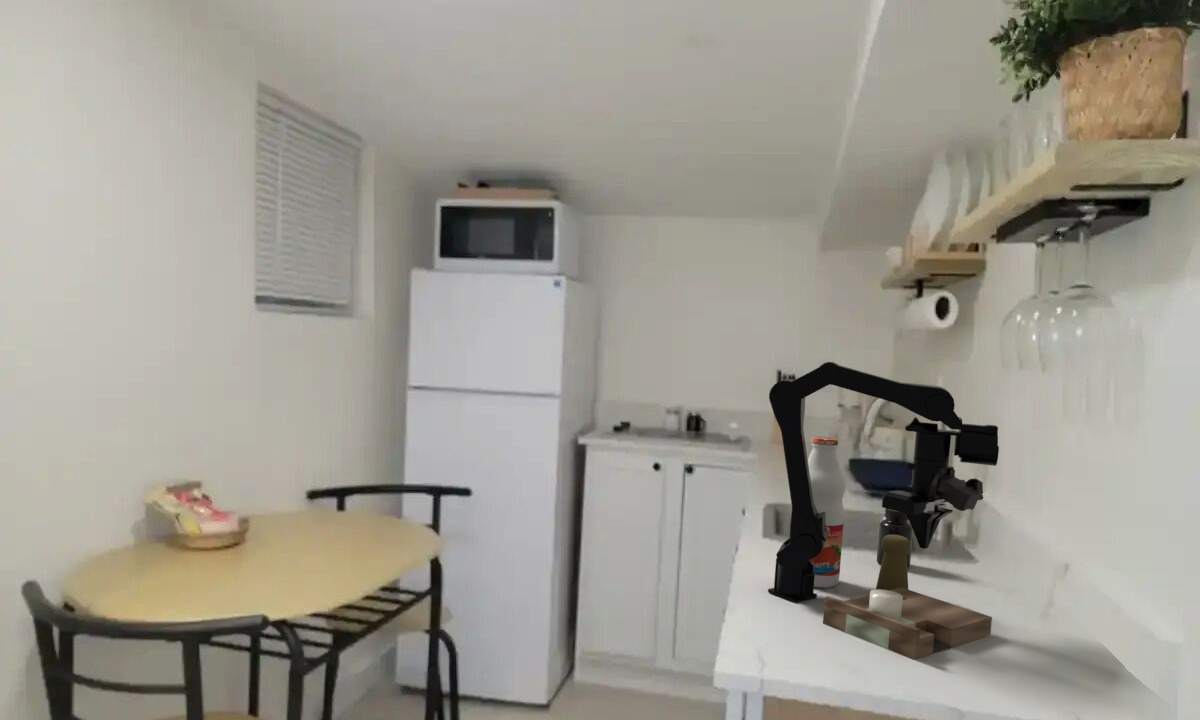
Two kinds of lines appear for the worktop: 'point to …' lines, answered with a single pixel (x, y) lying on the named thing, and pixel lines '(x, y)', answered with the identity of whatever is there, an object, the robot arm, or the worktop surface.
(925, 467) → the robot arm
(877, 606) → the white short cylinder
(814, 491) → the fruit juice
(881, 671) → the worktop surface
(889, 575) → the cork
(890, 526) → the supplement bottle
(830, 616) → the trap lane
